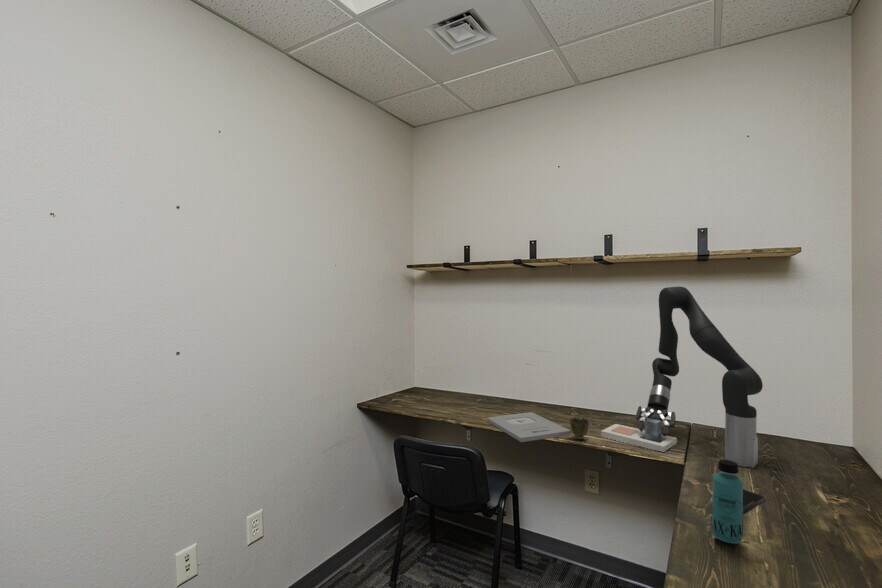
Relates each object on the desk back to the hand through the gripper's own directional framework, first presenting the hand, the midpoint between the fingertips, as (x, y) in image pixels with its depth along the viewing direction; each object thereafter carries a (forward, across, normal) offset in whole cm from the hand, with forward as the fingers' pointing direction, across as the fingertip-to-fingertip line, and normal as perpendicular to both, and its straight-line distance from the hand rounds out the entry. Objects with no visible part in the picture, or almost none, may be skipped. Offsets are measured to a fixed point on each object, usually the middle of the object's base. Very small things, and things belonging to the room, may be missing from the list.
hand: (652, 432), depth 172 cm
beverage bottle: (+46, +30, -39) cm, 68 cm away
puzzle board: (+2, -6, +5) cm, 8 cm away
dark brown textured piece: (+12, -25, -4) cm, 28 cm away
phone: (+27, +31, -20) cm, 46 cm away
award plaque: (+12, -49, -4) cm, 51 cm away
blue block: (+3, 0, +4) cm, 5 cm away
